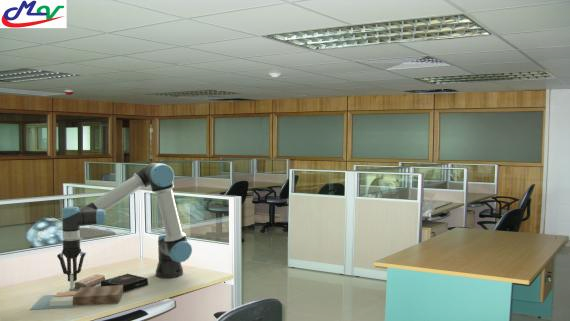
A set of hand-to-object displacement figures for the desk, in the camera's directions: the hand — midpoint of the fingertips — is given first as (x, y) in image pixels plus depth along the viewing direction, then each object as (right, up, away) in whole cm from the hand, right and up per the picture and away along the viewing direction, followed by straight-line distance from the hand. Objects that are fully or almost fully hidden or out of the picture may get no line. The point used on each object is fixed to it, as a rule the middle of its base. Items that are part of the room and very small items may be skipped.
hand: (72, 287), depth 236 cm
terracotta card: (-2, -5, 0) cm, 6 cm away
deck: (+13, -5, -1) cm, 14 cm away
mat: (-5, -5, -4) cm, 9 cm away
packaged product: (+1, -5, +19) cm, 20 cm away
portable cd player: (+19, -5, +19) cm, 27 cm away
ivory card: (-1, -5, -8) cm, 10 cm away
